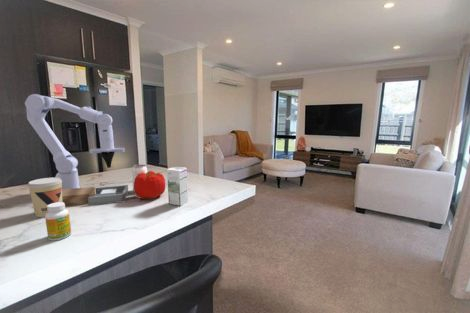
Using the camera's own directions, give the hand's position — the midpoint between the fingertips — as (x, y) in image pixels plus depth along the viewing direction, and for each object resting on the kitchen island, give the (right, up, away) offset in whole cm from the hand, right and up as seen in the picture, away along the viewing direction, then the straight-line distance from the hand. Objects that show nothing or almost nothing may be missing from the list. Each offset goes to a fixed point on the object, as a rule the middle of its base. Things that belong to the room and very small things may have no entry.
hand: (109, 167), depth 113 cm
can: (+17, -11, -4) cm, 21 cm away
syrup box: (+39, -14, -19) cm, 45 cm away
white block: (+7, -10, -14) cm, 18 cm away
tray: (+8, -12, -13) cm, 20 cm away
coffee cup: (-6, -15, -29) cm, 33 cm away
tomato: (+24, -12, -12) cm, 30 cm away
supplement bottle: (+11, -18, -46) cm, 50 cm away
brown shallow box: (-4, -13, -18) cm, 22 cm away
